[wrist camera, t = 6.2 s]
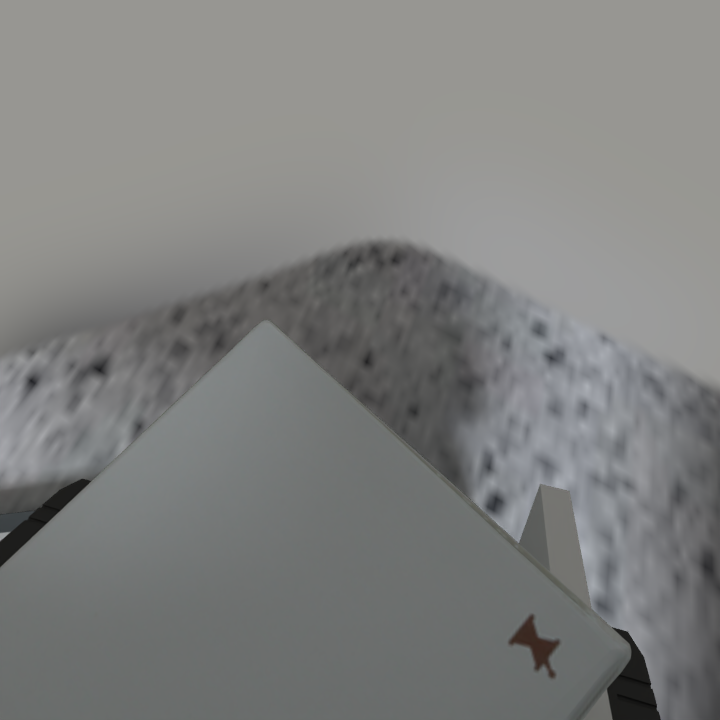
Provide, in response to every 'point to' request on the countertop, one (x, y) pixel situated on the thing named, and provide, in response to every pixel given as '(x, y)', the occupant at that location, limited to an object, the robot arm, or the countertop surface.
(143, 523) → the supplement box
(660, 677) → the countertop surface
